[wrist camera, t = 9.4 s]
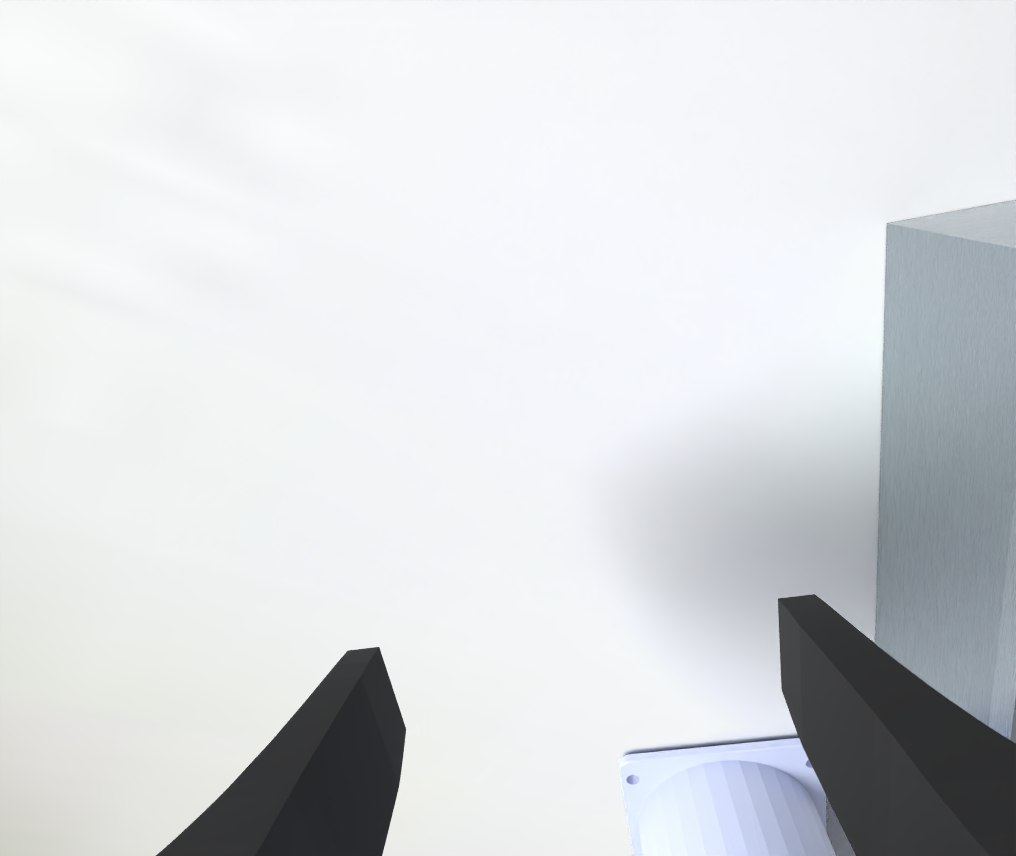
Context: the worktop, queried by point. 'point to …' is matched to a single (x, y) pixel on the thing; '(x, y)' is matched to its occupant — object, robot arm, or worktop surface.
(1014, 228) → the cash box
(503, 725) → the worktop surface
